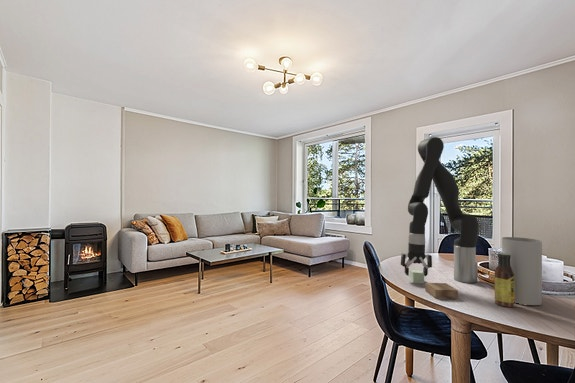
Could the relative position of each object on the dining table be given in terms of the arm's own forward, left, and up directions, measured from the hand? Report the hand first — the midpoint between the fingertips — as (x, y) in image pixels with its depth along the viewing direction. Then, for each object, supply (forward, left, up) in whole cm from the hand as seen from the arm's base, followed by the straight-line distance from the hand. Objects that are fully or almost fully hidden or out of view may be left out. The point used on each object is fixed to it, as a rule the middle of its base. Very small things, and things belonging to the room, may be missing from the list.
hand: (415, 275), depth 138 cm
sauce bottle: (-24, +27, -3) cm, 36 cm away
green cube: (-1, 0, -3) cm, 3 cm away
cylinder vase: (-34, +22, -3) cm, 40 cm away
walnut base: (-4, +18, -3) cm, 18 cm away
